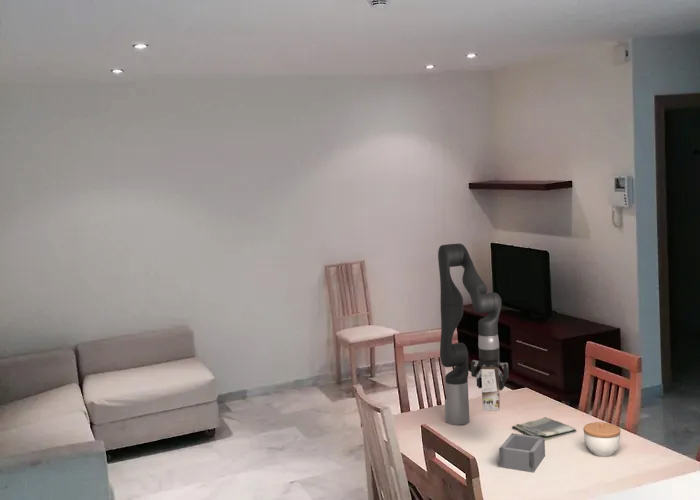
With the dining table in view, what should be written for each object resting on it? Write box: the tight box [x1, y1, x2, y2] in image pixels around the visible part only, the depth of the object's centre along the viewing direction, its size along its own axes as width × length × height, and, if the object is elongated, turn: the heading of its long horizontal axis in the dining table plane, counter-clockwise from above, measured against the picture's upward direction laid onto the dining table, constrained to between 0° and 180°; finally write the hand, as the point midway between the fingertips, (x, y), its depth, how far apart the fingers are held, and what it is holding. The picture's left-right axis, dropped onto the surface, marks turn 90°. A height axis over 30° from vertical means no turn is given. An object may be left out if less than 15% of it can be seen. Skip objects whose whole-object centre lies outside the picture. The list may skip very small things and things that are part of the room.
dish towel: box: [511, 416, 577, 441], centre depth 281 cm, size 19×18×3 cm
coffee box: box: [480, 366, 500, 412], centre depth 265 cm, size 9×6×16 cm
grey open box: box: [498, 432, 546, 473], centre depth 253 cm, size 12×15×7 cm
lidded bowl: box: [583, 421, 621, 457], centre depth 256 cm, size 13×13×11 cm
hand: (490, 388), depth 266 cm, fingers closed on coffee box, 7 cm apart
